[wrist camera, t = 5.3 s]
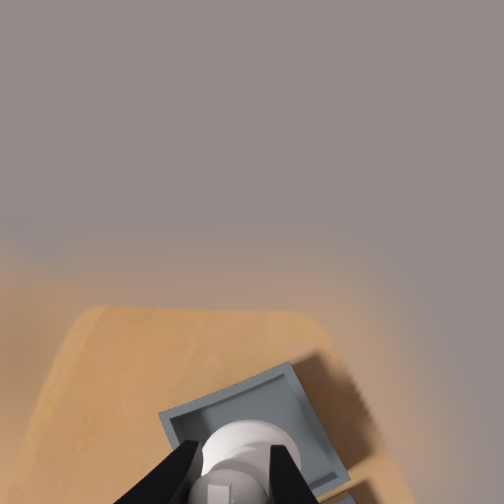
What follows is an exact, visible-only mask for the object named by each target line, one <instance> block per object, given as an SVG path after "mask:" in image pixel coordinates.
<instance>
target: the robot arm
mask: <svg viewBox="0 0 504 504" xmlns="http://www.w3.org/2000/svg"><path fill="white" fill-rule="evenodd" d="M203 461H204V458H203V452H202V447H201V443H200V441H199V440H193V439H186V440H184V441H183V442H182V443H181V444H180V445H179V446H178V447H177V448H176V449H175V450H174V451H173V452H172V453H171V454H169V455H168V456H167V457H166V458H165V459H164V460H163V461H162V462H161V463H160V464H159V465H157V466H156V467H155V468H154V469H153V470H152V471H151V472H150V473H149V474H147V475H146V476H145V477H144V478H143V479H142V480H141V481H139V482H138V483H137V484H136V485H135V486H134V487H132V488H131V489H130V490H129V491H128V492H127V493H125V494H124V495H123V496H122V497H121V498H119V499H118V500H117V501H116V502H115V503H113V504H188V496H189V492H190V489H191V487H192V486H193V484H194V483H195V482H196V481H197V480H198V479H199V478H200V477H201V475H202V469H203ZM268 499H269V504H319V502H318V501H317V499H316V497H315V496H314V494H313V492H312V491H311V489H310V487H309V486H308V484H307V482H306V481H305V479H304V477H303V476H302V474H301V472H300V470H299V469H298V467H297V465H296V464H295V462H294V460H293V458H292V457H291V455H290V453H289V451H288V449H287V448H286V446H285V445H271V446H270V461H269V485H268Z"/></svg>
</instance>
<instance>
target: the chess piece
mask: <svg viewBox="0 0 504 504" xmlns="http://www.w3.org/2000/svg"><path fill="white" fill-rule="evenodd" d="M271 445H285V446H286V448H287V449H288V451H289V453H290V455H291V457H292V458H293V460H294V462H295V464H296V465H297V467H298V469H299V470H301V459H300V454H299V451H298V448H297V446H296V444H295V443H294V441H293V440H292V439H291V437H290V436H289V435H288V434H287V433H286V432H284V431H283V430H282V429H280V428H279V427H277V426H275V425H273V424H271V423H268V422H264V421H260V420H240V421H235V422H232V423H229V424H227V425H225V426H223V427H221V428H220V429H218V430H217V431H216V432H214V433H213V434H212V435H211V436H210V438H209V439H208V440H207V442H206V443H205V445H204V447H203V449H202V452H203V458H204V461H203V469H202V475H201V477H200V478H199V479H198V480H197V481H196V482H195V483H194V484H193V486H192V487H191V489H190V492H189V496H188V504H269V499H268V485H269V461H270V446H271Z"/></svg>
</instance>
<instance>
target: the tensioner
mask: <svg viewBox="0 0 504 504" xmlns="http://www.w3.org/2000/svg"><path fill="white" fill-rule="evenodd" d="M320 504H356V503H355V501H354V499H353V497H352V496H351V494H349V493H348V492H347V491H346V490H345V491H344V492H342V493H340V494H338V495H336V496H334V497H332V498H330V499H328V500H326V501H324V502H322V503H320Z"/></svg>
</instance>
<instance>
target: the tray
mask: <svg viewBox="0 0 504 504" xmlns="http://www.w3.org/2000/svg"><path fill="white" fill-rule="evenodd" d="M158 414H159V417H160V420H161V422H162V425H163V427H164V430H165V432H166V435H167V437H168V440H169V442H170V444H171V447H172V449H173V451H174V450H175V449H176V448H177V447H178V446H179V445H180V444H181V443H182V442H183V441H184V440H186V439H193V440H199V441H200V443H201V447H202V449H203V447H204V445H205V443H206V442H207V440H208V439H209V438H210V436H211V435H212V434H213V433H214V432H216V431H217V430H218V429H220V428H221V427H223V426H225V425H227V424H229V423H232V422H235V421H240V420H260V421H264V422H268V423H271V424H273V425H275V426H277V427H279V428H280V429H282V430H283V431H284V432H286V433H287V434H288V435H289V436H290V437H291V439H292V440H293V441H294V443H295V444H296V446H297V448H298V451H299V454H300V459H301V470H300V472H301V474H302V476H303V477H304V479H305V481H306V482H307V484H308V486H309V487H310V489H311V491H312V492H313V494H314V496H315V497H318V496H320V495H322V494H324V493H326V492H328V491H330V490H332V489H334V488H336V487H338V486H340V485H342V484H344V483H345V482H347V481H349V480H351V478H350V477H349V475H348V473H347V471H346V469H345V467H344V465H343V463H342V462H341V460H340V458H339V456H338V454H337V452H336V450H335V449H334V447H333V445H332V443H331V441H330V439H329V437H328V435H327V433H326V432H325V430H324V428H323V426H322V424H321V422H320V420H319V418H318V416H317V414H316V413H315V411H314V409H313V407H312V405H311V403H310V401H309V399H308V397H307V395H306V393H305V391H304V389H303V388H302V386H301V384H300V382H299V380H298V378H297V376H296V374H295V372H294V370H293V368H292V366H291V364H290V362H289V361H287V362H285V363H283V364H281V365H278V366H276V367H274V368H272V369H270V370H268V371H265V372H263V373H261V374H259V375H256V376H254V377H252V378H249V379H247V380H245V381H242V382H240V383H238V384H235V385H233V386H230V387H228V388H225V389H223V390H220V391H218V392H215V393H213V394H210V395H208V396H205V397H202V398H200V399H197V400H194V401H191V402H189V403H186V404H183V405H180V406H177V407H175V408H172V409H169V410H166V411H163V412H160V413H158Z"/></svg>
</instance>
